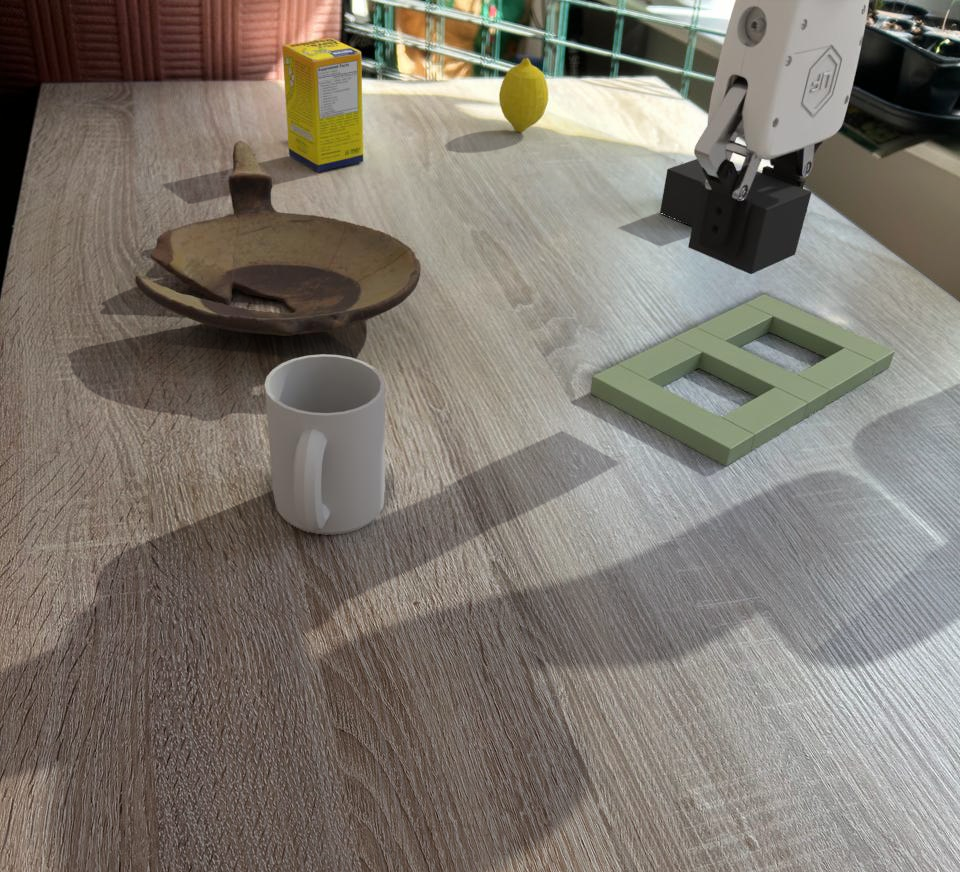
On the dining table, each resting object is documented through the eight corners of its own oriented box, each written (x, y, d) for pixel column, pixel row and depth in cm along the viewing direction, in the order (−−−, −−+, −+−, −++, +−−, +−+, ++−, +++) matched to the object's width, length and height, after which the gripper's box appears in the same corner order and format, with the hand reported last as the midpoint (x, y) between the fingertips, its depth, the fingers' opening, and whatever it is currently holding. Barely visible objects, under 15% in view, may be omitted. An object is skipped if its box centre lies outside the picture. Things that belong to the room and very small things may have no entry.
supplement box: (333, 145, 121) (329, 35, 114) (364, 163, 118) (363, 51, 110) (286, 155, 118) (280, 43, 111) (317, 173, 115) (313, 59, 107)
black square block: (692, 201, 115) (700, 157, 112) (734, 218, 113) (744, 173, 110) (659, 213, 112) (667, 168, 109) (702, 231, 110) (711, 185, 107)
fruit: (519, 143, 125) (526, 67, 120) (487, 129, 128) (491, 54, 123) (554, 134, 128) (562, 59, 123) (521, 121, 131) (527, 47, 125)
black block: (733, 229, 81) (746, 167, 78) (795, 254, 79) (812, 191, 76) (687, 247, 78) (700, 183, 75) (750, 274, 76) (766, 209, 73)
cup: (393, 479, 75) (394, 361, 69) (366, 571, 68) (364, 447, 62) (289, 467, 75) (280, 348, 69) (250, 557, 68) (237, 433, 62)
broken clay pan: (107, 378, 82) (89, 280, 77) (199, 219, 104) (190, 135, 99) (405, 400, 83) (406, 304, 77) (434, 237, 105) (437, 154, 99)
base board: (760, 309, 98) (764, 293, 97) (889, 367, 91) (895, 350, 90) (589, 393, 85) (592, 375, 84) (725, 466, 79) (730, 449, 78)
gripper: (785, -28, 59) (714, 291, 71) (940, -58, 69) (854, 229, 81) (675, -56, 63) (626, 252, 75) (836, -81, 72) (769, 196, 84)
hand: (745, 237), depth 78 cm, fingers closed on black block, 5 cm apart
